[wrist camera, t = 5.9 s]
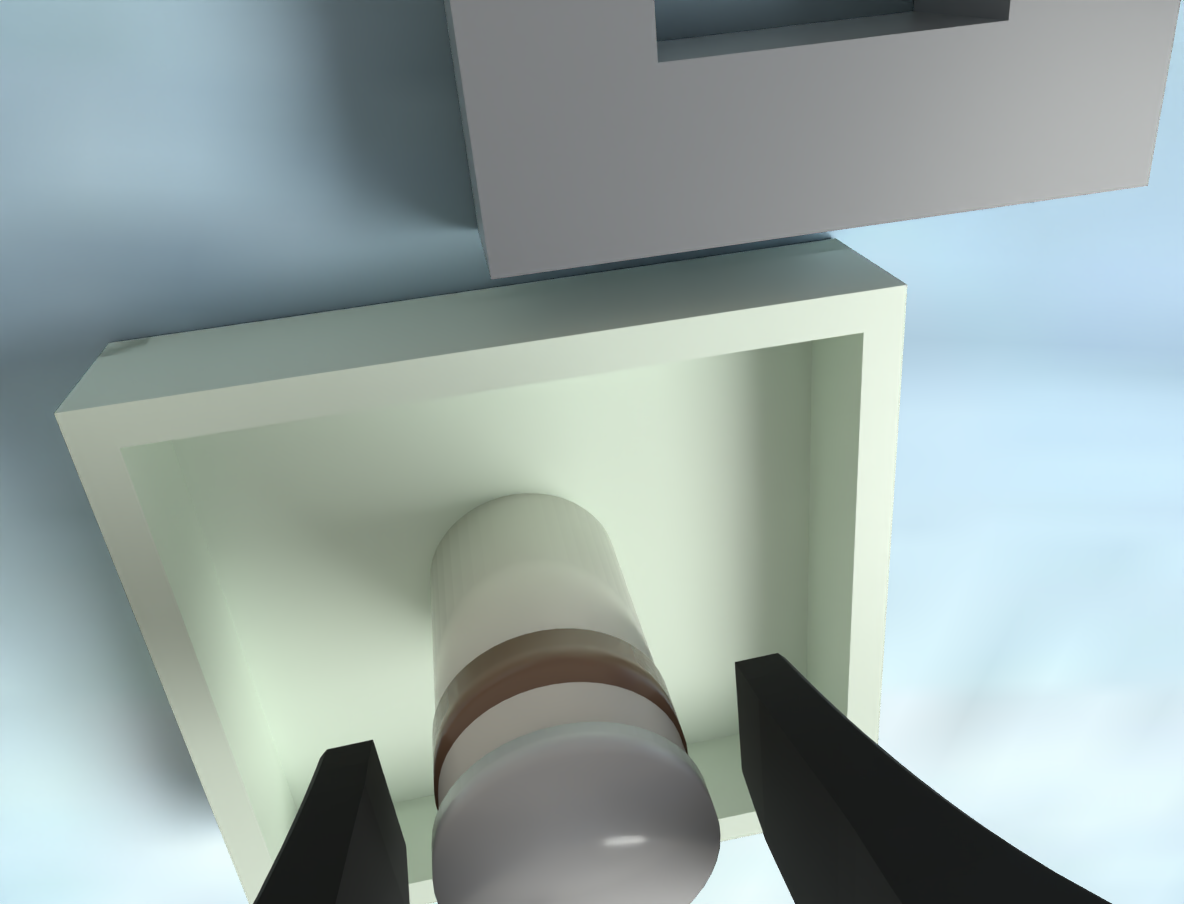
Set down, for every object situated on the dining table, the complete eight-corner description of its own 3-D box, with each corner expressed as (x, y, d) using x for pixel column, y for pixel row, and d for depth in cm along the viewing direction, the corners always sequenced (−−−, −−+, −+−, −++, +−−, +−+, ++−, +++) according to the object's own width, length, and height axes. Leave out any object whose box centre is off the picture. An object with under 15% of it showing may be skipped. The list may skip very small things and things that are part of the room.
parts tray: (835, 238, 15) (907, 284, 13) (822, 717, 20) (873, 809, 18) (109, 343, 14) (54, 414, 12) (280, 825, 19) (263, 938, 17)
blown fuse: (614, 473, 16) (718, 727, 11) (627, 635, 17) (722, 928, 12) (408, 505, 15) (408, 787, 10) (441, 668, 17) (456, 984, 12)
